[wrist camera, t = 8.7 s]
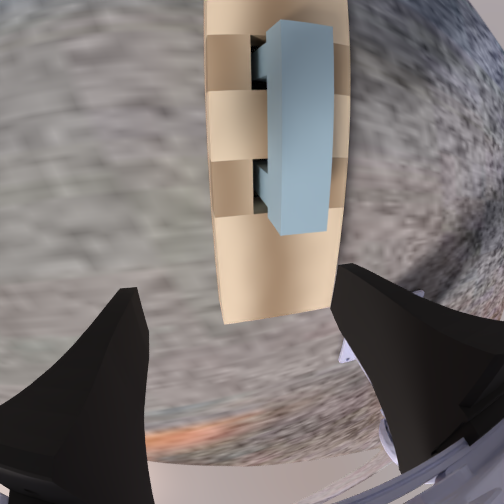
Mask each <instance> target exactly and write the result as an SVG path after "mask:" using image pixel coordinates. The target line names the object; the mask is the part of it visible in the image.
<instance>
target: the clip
mask: <svg viewBox="0 0 504 504" xmlns="http://www.w3.org/2000/svg"><path fill="white" fill-rule="evenodd" d="M251 82H267V121H268V160H255V161H253V189H254V190H255V191H256V193H257V194H258V195H259V196H260V198H261V199H262V200H263V202H264V203H265V204H266V205H267V207H268V218H269V220H270V221H271V223H272V224H273V226H274V227H275V228H276V230H277V231H278V233H279V234H280V236H283V235H293V234H303V233H312V232H323V231H327V222H328V211H329V198H330V185H331V169H332V150H333V123H334V48H333V27H331V26H326V25H320V24H314V23H307V22H299V21H291V20H281V19H280V20H279V21H278V22H277V23H276V24H275V25H273V26H272V27H271V28H270V29H269V30H268V31H266V43H265V44H263V45H262V46H261V47H260V48H258V49H257V50H256V51H255V52H253V53H252V54H251Z"/></svg>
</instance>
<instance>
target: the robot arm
mask: <svg viewBox="0 0 504 504" xmlns="http://www.w3.org/2000/svg"><path fill="white" fill-rule="evenodd" d="M423 296H424V291H423V290H418V291H415V292H410V291H408V290H406V289H404V288H402V287H400V286H398V285H396V284H394V283H392V282H390V281H388V280H386V279H384V278H382V277H380V276H379V275H377V274H375V273H373V272H371V271H369V270H367V269H365V268H363V267H360V266H358V265H356V264H353V263H350V264H342V265H338V269H337V275H336V281H335V287H334V292H333V298H332V303H331V308H330V309H331V311H332V314H333V316H334V318H335V321H336V323H337V325H338V327H339V330H340V331H341V333H342V335H343V336H344V341H343V345H342V348H341V352H340V356H339V359H338V360H339V362H340V363H344V362H348V361H352V360H355V359H356V360H357V361H358V363H359V365H360V366H361V368H362V370H363V371H364V373H365V374H366V376H367V378H368V379H369V381H370V383H371V384H372V386H373V388H374V391H375V393H376V395H377V397H378V400H379V402H380V405H381V407H382V409H381V410H380V411H381V413H382V414H383V416H384V418H383V419H382V420H381V421H380V425H379V437H380V440H381V443H382V445H383V447H384V449H385V451H386V452H387V454H388V455H389V457H390V458H391V459H392V460H393V461H394V462H395V463H396V464H397V465H398V466H399V470H400V472H401V474H402V475H400V476H398V477H396V478H394V479H392V480H389V481H388V482H385V483H383V484H381V485H379V486H376V487H374V488H372V489H370V490H367V491H365V492H362V493H360V494H357V495H355V496H352V497H350V498H347V499H344V500H342V501H339V502H336V503H333V504H388V503H390V502H392V501H394V500H396V499H398V498H400V497H402V496H404V495H405V494H407V493H409V492H411V491H413V490H414V489H416V488H418V487H420V486H421V485H423V484H434V485H433V486H432V487H430V488H429V489H427V490H426V491H424V492H422V493H420V494H419V495H417V496H416V497H414V498H412V499H411V500H409V501H407V502H405V503H404V504H504V321H498V320H492V319H487V318H482V317H478V316H473V315H470V314H466V313H463V312H459V311H456V310H453V309H450V308H447V307H445V306H442V305H439V304H437V303H434V302H432V301H429V300H427V299H425V298H423ZM148 363H149V330H148V327H147V324H146V320H145V316H144V313H143V309H142V305H141V302H140V298H139V294H138V290H137V287H133V288H121V289H119V291H118V292H117V293H116V294H115V295H114V297H113V298H112V299H111V300H110V302H109V303H108V304H107V305H106V307H105V308H104V309H103V310H102V312H101V313H100V314H99V315H98V317H97V318H96V319H95V320H94V322H93V323H92V324H91V325H90V326H89V328H88V329H87V330H86V331H85V332H84V333H83V334H82V336H81V337H80V338H79V339H78V340H77V341H76V343H75V344H74V345H73V346H72V347H71V348H70V349H69V350H68V351H67V352H66V353H65V354H64V355H63V356H62V357H61V358H60V359H59V360H58V361H57V362H56V363H55V364H54V365H53V366H52V367H51V368H50V369H48V370H47V371H46V372H45V373H44V374H42V375H41V376H40V377H39V378H38V379H37V380H35V381H34V382H33V383H32V384H31V385H29V386H28V387H27V388H25V389H24V390H23V391H21V392H20V393H19V394H17V395H16V396H14V397H13V398H11V399H10V400H8V401H7V402H5V403H4V404H2V405H0V484H2V485H3V486H5V487H7V488H8V489H10V492H9V497H8V496H6V495H4V494H2V493H0V504H155V503H154V499H153V495H152V489H151V483H150V477H149V471H148V464H147V454H146V445H145V431H144V405H145V393H146V383H147V373H148Z"/></svg>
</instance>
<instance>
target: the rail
mask: <svg viewBox="0 0 504 504" xmlns="http://www.w3.org/2000/svg"><path fill="white" fill-rule="evenodd" d="M280 19H281V20H291V21H299V22H307V23H314V24H320V25H326V26H331V27H333V48H334V123H333V150H332V169H331V185H330V198H329V211H328V222H327V231H323V232H312V233H303V234H293V235H283V236H280V234H279V233H278V231H277V230H276V228H275V227H274V226H273V224H272V223H271V221H270V220H269V218H268V207H267V205H266V204H265V203H264V202H263V200H262V199H261V198H260V197H257V198H253V159H265V158H268V121H267V90H251V46H262V45H263V44H265V43H266V31H268V30H269V29H270V28H271V27H272V26H273V25H275V24H276V23H277V22H278V21H279V20H280ZM204 69H205V103H206V127H207V148H208V166H209V182H210V197H211V211H212V225H213V237H214V249H215V261H216V272H217V282H218V292H219V301H220V306H221V311H222V316H223V321H224V324H231V323H238V322H245V321H252V320H258V319H265V318H271V317H277V316H283V315H289V314H295V313H300V312H306V311H311V310H317V309H322V308H327V307H330V304H331V298H332V292H333V286H334V279H335V273H336V266H337V259H338V252H339V244H340V236H341V228H342V219H343V210H344V200H345V189H346V177H347V163H348V147H349V126H350V38H349V19H348V4H347V0H204Z"/></svg>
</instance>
